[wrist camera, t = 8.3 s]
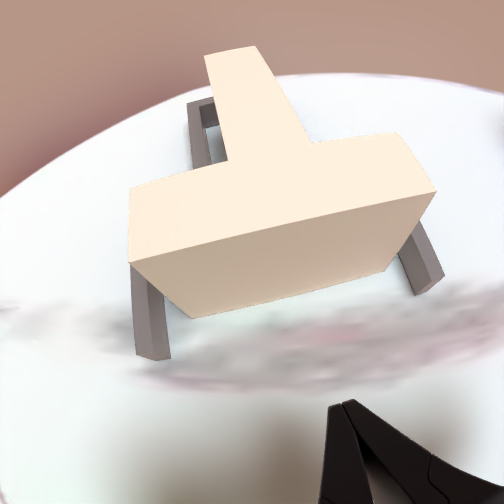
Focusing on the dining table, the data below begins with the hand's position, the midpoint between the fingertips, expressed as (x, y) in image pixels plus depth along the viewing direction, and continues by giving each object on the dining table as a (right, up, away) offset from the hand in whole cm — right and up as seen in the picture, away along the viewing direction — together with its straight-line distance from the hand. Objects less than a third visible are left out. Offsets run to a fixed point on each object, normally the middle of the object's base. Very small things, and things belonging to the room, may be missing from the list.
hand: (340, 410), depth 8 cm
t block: (-2, +9, +12) cm, 15 cm away
